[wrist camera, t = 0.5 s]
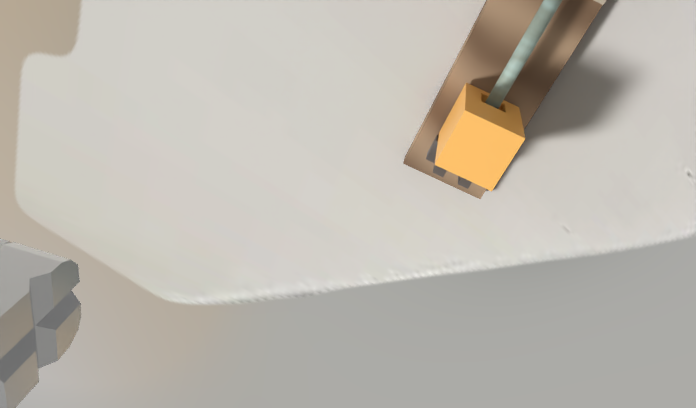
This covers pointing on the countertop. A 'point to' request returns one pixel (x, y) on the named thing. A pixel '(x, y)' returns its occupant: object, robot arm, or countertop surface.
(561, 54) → the slider rail board
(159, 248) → the countertop surface
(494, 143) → the orange slider block
